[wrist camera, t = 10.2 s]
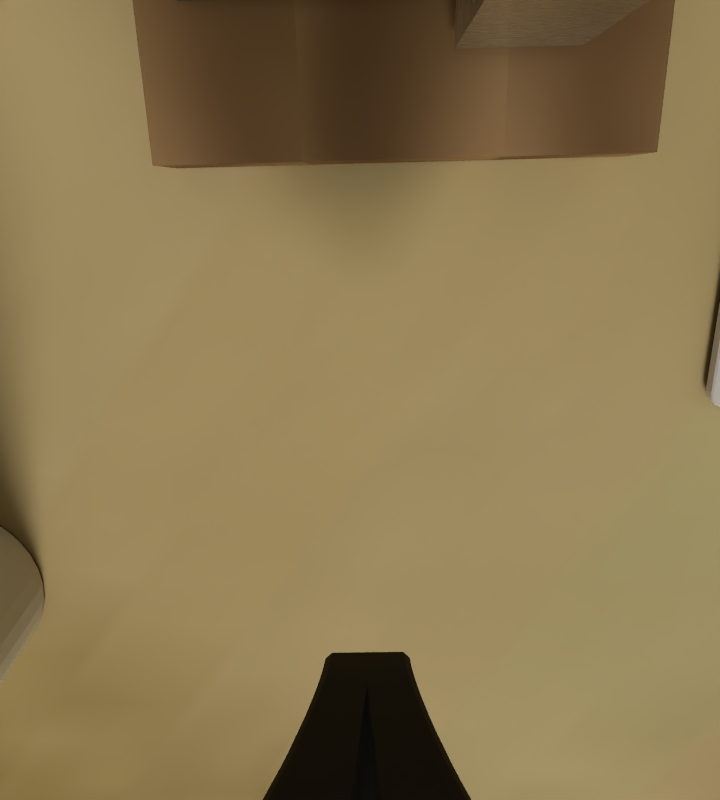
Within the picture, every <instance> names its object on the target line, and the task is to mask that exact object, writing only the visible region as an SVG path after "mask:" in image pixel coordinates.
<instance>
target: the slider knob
mask: <svg viewBox="0 0 720 800" xmlns="http://www.w3.org/2000/svg"><path fill="white" fill-rule="evenodd" d="M648 1H649V0H456V7H455V49H467V48H500V47H533V46H566V45H584V44H585V43H587V42H588V41H590V40H591V39H593V38H594V37H596V36H597V35H599V34H600V33H602V32H603V31H605V30H606V29H608V28H609V27H611V26H612V25H614V24H615V23H617V22H618V21H620V20H621V19H623V18H624V17H626V16H627V15H628V14H630V13H631V12H633V11H634V10H636V9H637V8H639V7H640V6H642V5H643V4H645V3H646V2H648Z"/></svg>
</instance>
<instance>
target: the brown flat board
mask: <svg viewBox="0 0 720 800" xmlns="http://www.w3.org/2000/svg"><path fill="white" fill-rule="evenodd" d="M674 3H675V0H649V1H648V2H646V3H645V4H643V5H642V6H640V7H639V8H637V9H636V10H634V11H633V12H631V13H630V14H628V15H627V16H626V17H624V18H623V19H621V20H620V21H618V22H617V23H615V24H614V25H612V26H611V27H609V28H608V29H606V30H605V31H603V32H602V33H600V34H599V35H597V36H596V37H594V38H593V39H591V40H590V41H588V42H587V43H585V44H584V45H566V46H533V47H500V48H467V49H455V7H456V0H133V7H134V15H135V24H136V32H137V40H138V48H139V57H140V65H141V73H142V81H143V90H144V98H145V106H146V114H147V122H148V131H149V139H150V147H151V155H152V164H153V166H162V167H171V168H202V167H240V166H277V165H315V164H353V163H390V162H428V161H465V160H503V159H540V158H578V157H615V156H630V155H638V154H645V153H653V152H657V148H658V140H659V131H660V123H661V114H662V106H663V97H664V89H665V80H666V72H667V63H668V54H669V46H670V37H671V29H672V20H673V12H674Z"/></svg>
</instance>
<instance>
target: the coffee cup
mask: <svg viewBox="0 0 720 800" xmlns="http://www.w3.org/2000/svg"><path fill="white" fill-rule="evenodd" d="M43 604H44V591H43V583H42V579H41V576H40V573H39V570H38V568H37V566H36V564H35V562H34V560H33V559H32V557H31V555H30V554H29V553H28V551H27V550H26V549H25V548H24V547H23V545H22V544H21V543H20V542H19V541H18V540H17V539H16V538H15V537H13V536H12V535H11V534H10V533H9V532H8V531H7V530H5V529H4V528H2V527H0V684H1V682H2V681H3V679H4V678H5V676H6V674H7V673H8V671H9V670H10V668H11V666H12V665H13V663H14V662H15V660H16V659H17V657H18V655H19V654H20V652H21V651H22V649H23V648H24V646H25V644H26V643H27V641H28V639H29V638H30V636H31V635H32V633H33V631H34V630H35V628H36V626H37V624H38V621H39V619H40V617H41V614H42V610H43Z"/></svg>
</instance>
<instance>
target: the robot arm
mask: <svg viewBox="0 0 720 800" xmlns="http://www.w3.org/2000/svg"><path fill="white" fill-rule="evenodd" d="M706 396H707V398H708V399H709V401H710V402H712V403H713V404H715V405H717V406H718V407H720V304H719V310H718V317H717V323H716V329H715V336H714V342H713V348H712V355H711V361H710V367H709V374H708V380H707V386H706ZM263 800H471V798H470V797H469V795H468V793H467V791H466V790H465V788H464V786H463V784H462V782H461V781H460V779H459V777H458V775H457V773H456V771H455V769H454V767H453V765H452V763H451V761H450V759H449V757H448V755H447V753H446V751H445V749H444V747H443V745H442V743H441V741H440V739H439V737H438V735H437V733H436V731H435V728H434V726H433V724H432V722H431V719H430V717H429V715H428V712H427V710H426V707H425V705H424V702H423V700H422V697H421V695H420V692H419V689H418V687H417V684H416V681H415V678H414V674H413V671H412V667H411V663H410V658H409V657H408V656H407V655H406V654H405V653H404V652H365V653H332V654H330V655H329V656H328V657H327V658H326V660H325V664H324V668H323V671H322V674H321V678H320V681H319V683H318V686H317V689H316V692H315V694H314V697H313V699H312V702H311V704H310V706H309V709H308V711H307V714H306V716H305V718H304V720H303V723H302V725H301V727H300V729H299V731H298V733H297V735H296V737H295V739H294V742H293V744H292V746H291V748H290V750H289V752H288V754H287V756H286V758H285V760H284V762H283V764H282V766H281V768H280V769H279V771H278V773H277V775H276V777H275V778H274V780H273V782H272V784H271V786H270V788H269V789H268V791H267V793H266V795H265V797H264V798H263Z"/></svg>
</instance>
